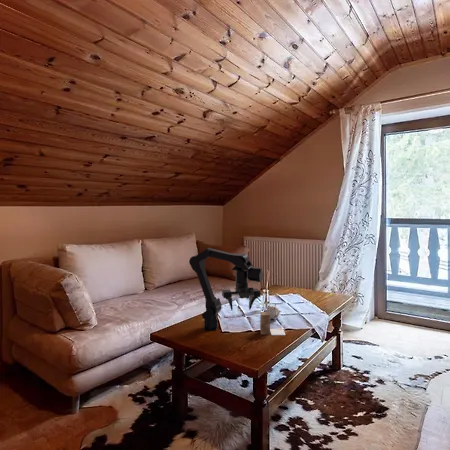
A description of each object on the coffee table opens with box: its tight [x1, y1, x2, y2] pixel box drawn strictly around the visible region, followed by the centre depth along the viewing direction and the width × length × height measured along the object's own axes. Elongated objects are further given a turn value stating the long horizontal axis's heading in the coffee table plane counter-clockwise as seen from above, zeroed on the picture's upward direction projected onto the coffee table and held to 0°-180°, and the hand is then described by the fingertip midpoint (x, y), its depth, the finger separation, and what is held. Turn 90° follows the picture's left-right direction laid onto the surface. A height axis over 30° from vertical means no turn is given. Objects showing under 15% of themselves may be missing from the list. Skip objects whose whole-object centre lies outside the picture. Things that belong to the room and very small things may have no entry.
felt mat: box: [270, 328, 286, 336], centre depth 179 cm, size 7×7×1 cm
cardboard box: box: [259, 311, 271, 335], centre depth 178 cm, size 5×4×10 cm
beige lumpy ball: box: [265, 303, 282, 320], centre depth 197 cm, size 9×8×10 cm
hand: (240, 309), depth 176 cm, fingers open, 9 cm apart
